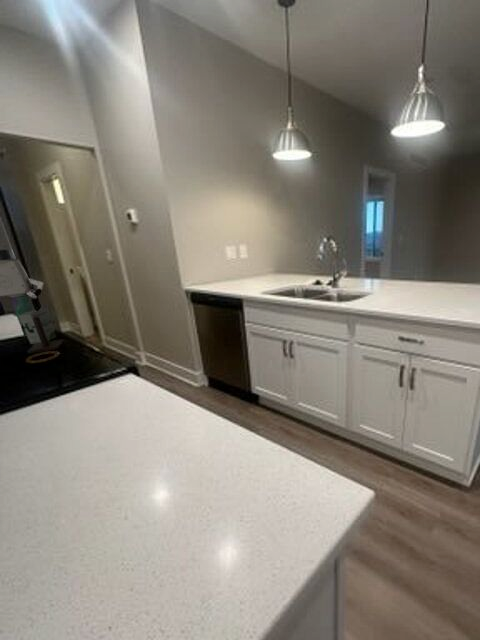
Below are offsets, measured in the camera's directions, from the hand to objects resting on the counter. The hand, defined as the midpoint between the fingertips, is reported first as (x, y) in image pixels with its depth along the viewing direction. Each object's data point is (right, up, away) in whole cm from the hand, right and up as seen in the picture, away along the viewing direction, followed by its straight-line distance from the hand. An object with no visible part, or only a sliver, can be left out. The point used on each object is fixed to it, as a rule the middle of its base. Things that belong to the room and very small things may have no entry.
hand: (20, 312), depth 109 cm
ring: (+4, -14, +5) cm, 15 cm away
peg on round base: (-2, -11, +15) cm, 19 cm away
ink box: (-10, -8, +24) cm, 27 cm away
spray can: (-21, -5, +32) cm, 39 cm away
